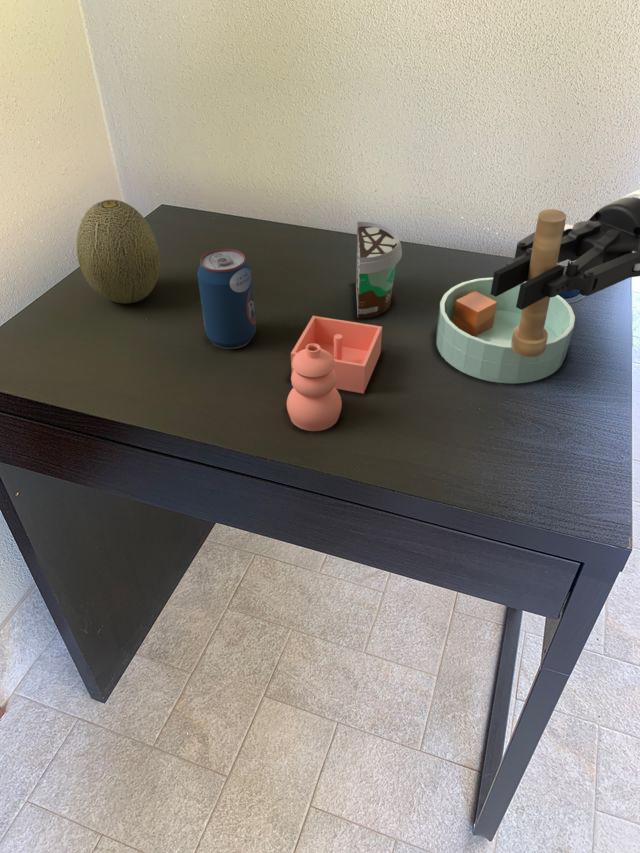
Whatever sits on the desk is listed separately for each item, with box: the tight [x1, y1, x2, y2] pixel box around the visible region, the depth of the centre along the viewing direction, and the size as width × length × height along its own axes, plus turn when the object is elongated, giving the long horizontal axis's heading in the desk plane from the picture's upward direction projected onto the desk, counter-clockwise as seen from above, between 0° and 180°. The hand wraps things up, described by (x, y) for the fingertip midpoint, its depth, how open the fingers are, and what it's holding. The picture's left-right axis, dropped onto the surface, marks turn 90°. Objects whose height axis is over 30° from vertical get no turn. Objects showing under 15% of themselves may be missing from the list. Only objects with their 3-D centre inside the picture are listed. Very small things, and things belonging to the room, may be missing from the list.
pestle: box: [511, 208, 567, 357], centre depth 76 cm, size 4×4×17 cm
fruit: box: [76, 199, 161, 304], centre depth 98 cm, size 11×11×15 cm
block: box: [453, 291, 497, 337], centre depth 94 cm, size 4×4×4 cm
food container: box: [355, 220, 403, 319], centre depth 98 cm, size 12×6×10 cm, turn 179°
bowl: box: [435, 277, 576, 384], centre depth 91 cm, size 17×17×6 cm
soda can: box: [196, 248, 257, 350], centre depth 91 cm, size 7×7×12 cm
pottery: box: [286, 315, 383, 432], centre depth 83 cm, size 18×10×10 cm, turn 163°
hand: (508, 290), depth 73 cm, fingers closed on pestle, 3 cm apart
